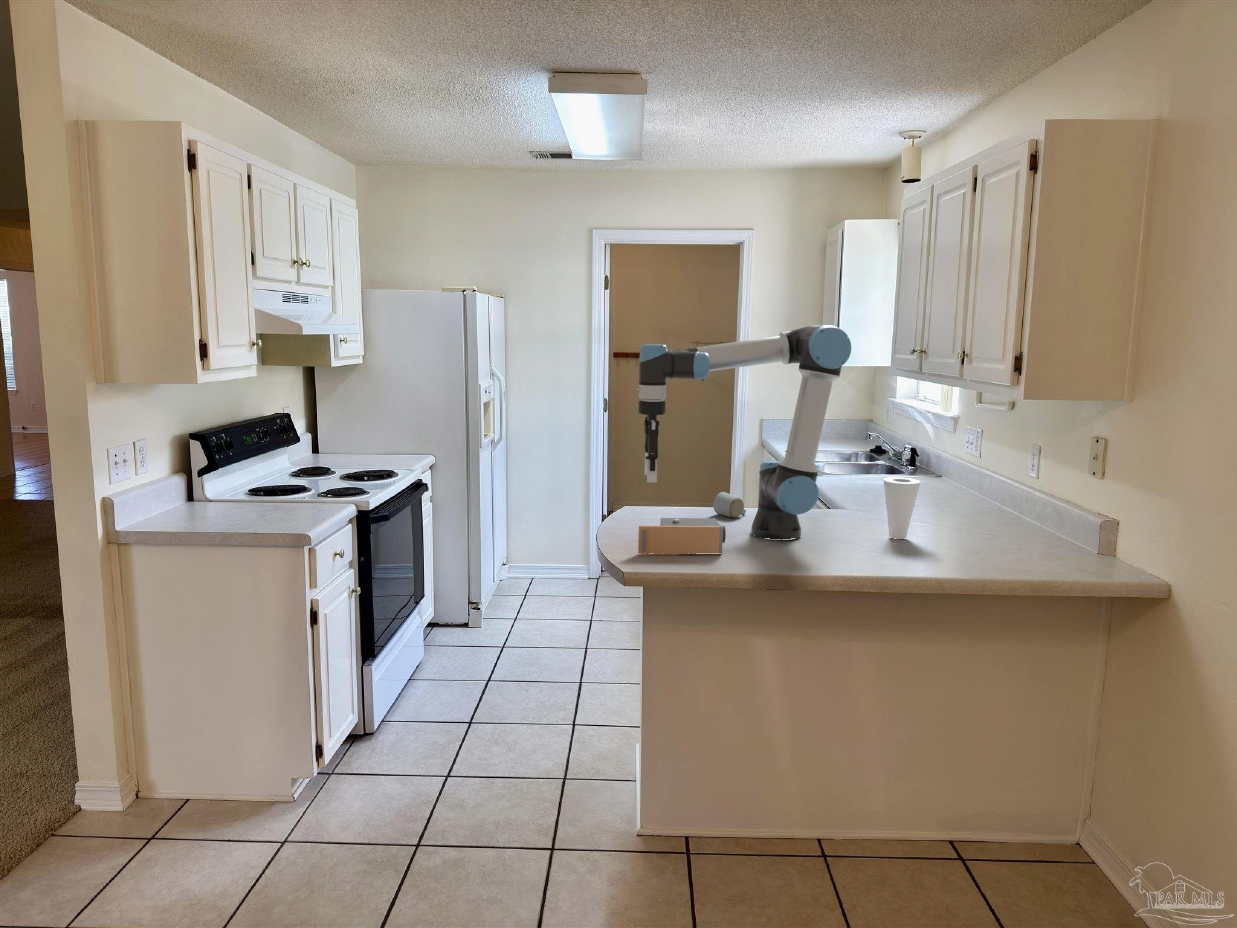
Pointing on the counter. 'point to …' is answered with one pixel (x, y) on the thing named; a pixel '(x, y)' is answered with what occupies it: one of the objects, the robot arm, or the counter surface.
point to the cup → (900, 504)
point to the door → (680, 539)
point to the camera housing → (691, 523)
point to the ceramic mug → (728, 505)
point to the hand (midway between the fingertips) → (650, 478)
